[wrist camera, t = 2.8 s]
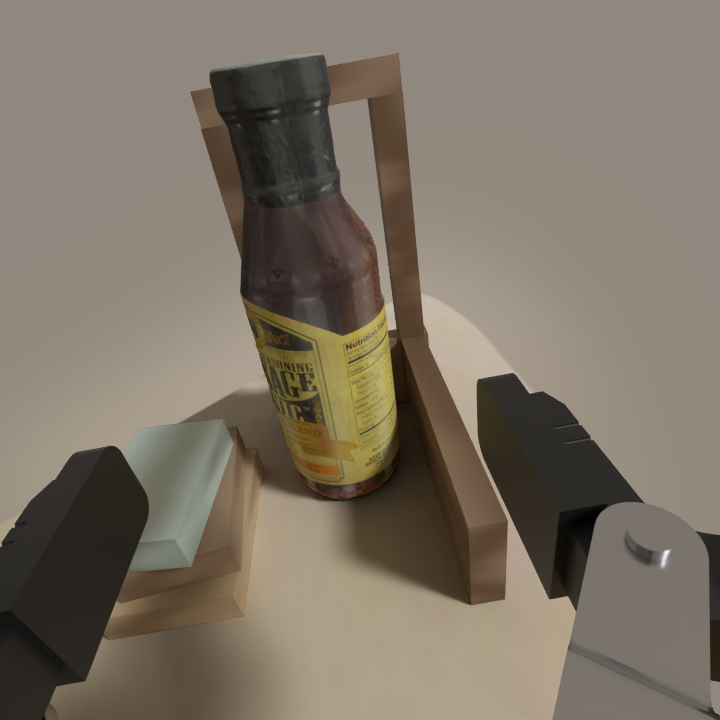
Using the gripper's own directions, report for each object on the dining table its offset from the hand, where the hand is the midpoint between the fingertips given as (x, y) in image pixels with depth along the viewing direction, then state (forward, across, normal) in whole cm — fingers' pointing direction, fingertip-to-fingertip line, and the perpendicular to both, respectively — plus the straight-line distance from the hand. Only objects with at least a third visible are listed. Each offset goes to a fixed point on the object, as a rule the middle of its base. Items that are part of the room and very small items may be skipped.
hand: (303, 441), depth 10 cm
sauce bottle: (+11, 0, +12) cm, 17 cm away
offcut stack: (+8, +8, +12) cm, 17 cm away
